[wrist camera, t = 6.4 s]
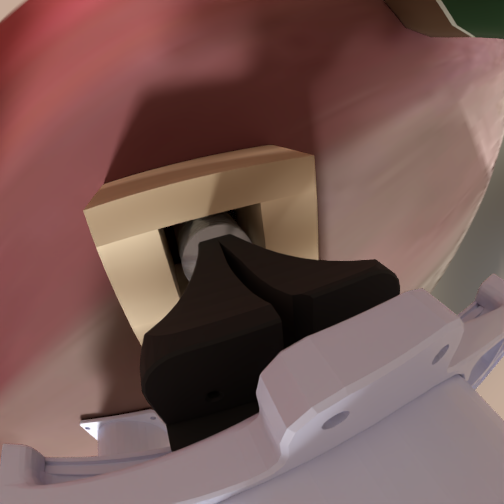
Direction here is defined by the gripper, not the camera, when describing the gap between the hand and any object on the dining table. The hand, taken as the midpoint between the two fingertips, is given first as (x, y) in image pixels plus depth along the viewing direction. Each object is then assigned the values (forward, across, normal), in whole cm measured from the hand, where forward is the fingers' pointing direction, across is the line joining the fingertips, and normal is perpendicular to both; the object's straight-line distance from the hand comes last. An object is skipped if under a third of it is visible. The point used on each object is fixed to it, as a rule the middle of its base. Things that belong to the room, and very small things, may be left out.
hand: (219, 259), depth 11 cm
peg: (+4, 0, 0) cm, 4 cm away
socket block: (+4, 0, +4) cm, 6 cm away
